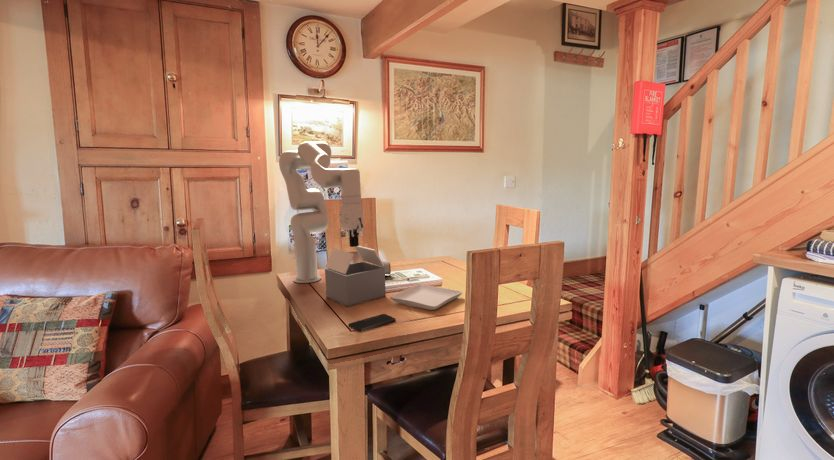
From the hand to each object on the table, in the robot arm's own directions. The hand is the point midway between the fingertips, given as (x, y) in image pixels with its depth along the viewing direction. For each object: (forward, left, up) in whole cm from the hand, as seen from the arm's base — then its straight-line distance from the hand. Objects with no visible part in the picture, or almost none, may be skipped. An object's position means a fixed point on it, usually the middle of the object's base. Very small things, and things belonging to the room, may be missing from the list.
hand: (354, 246), depth 175 cm
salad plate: (+24, +17, -22) cm, 36 cm away
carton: (0, 0, -21) cm, 21 cm away
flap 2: (0, +7, -5) cm, 8 cm away
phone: (+29, -12, -22) cm, 38 cm away
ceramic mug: (-20, +26, -21) cm, 39 cm away
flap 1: (0, -7, -5) cm, 8 cm away
